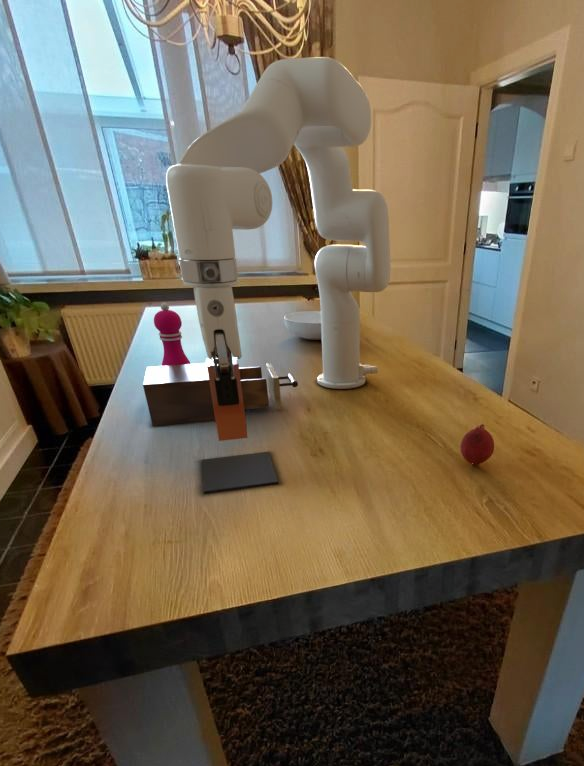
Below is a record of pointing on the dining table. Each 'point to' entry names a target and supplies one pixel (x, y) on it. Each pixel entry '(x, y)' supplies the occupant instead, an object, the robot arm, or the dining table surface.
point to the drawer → (262, 386)
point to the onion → (477, 445)
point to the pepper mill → (170, 336)
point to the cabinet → (178, 394)
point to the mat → (238, 472)
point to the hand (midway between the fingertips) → (227, 397)
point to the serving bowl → (305, 324)
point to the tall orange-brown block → (228, 407)
